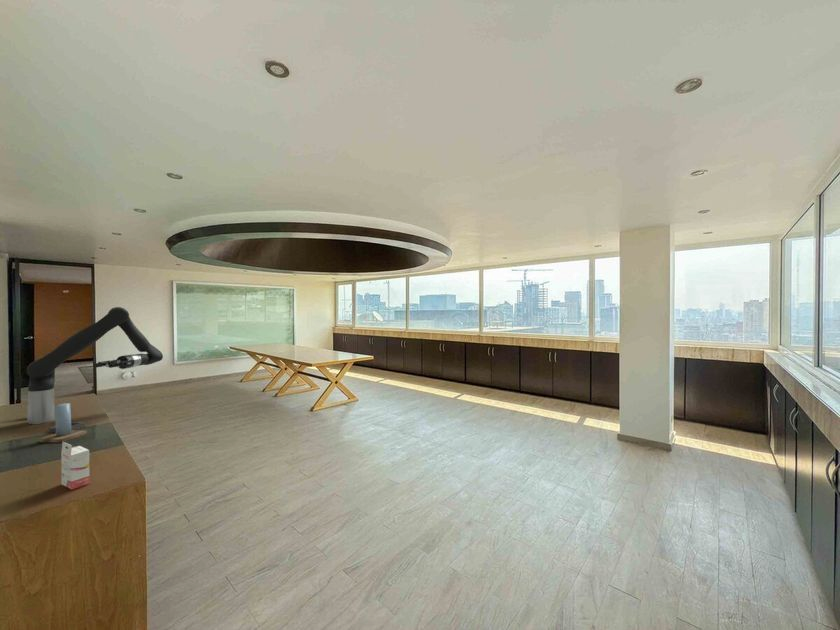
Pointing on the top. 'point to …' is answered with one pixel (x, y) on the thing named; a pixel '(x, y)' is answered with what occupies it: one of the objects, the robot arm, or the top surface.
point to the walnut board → (62, 437)
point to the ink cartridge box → (74, 466)
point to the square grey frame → (73, 426)
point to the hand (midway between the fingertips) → (101, 365)
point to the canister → (63, 419)
